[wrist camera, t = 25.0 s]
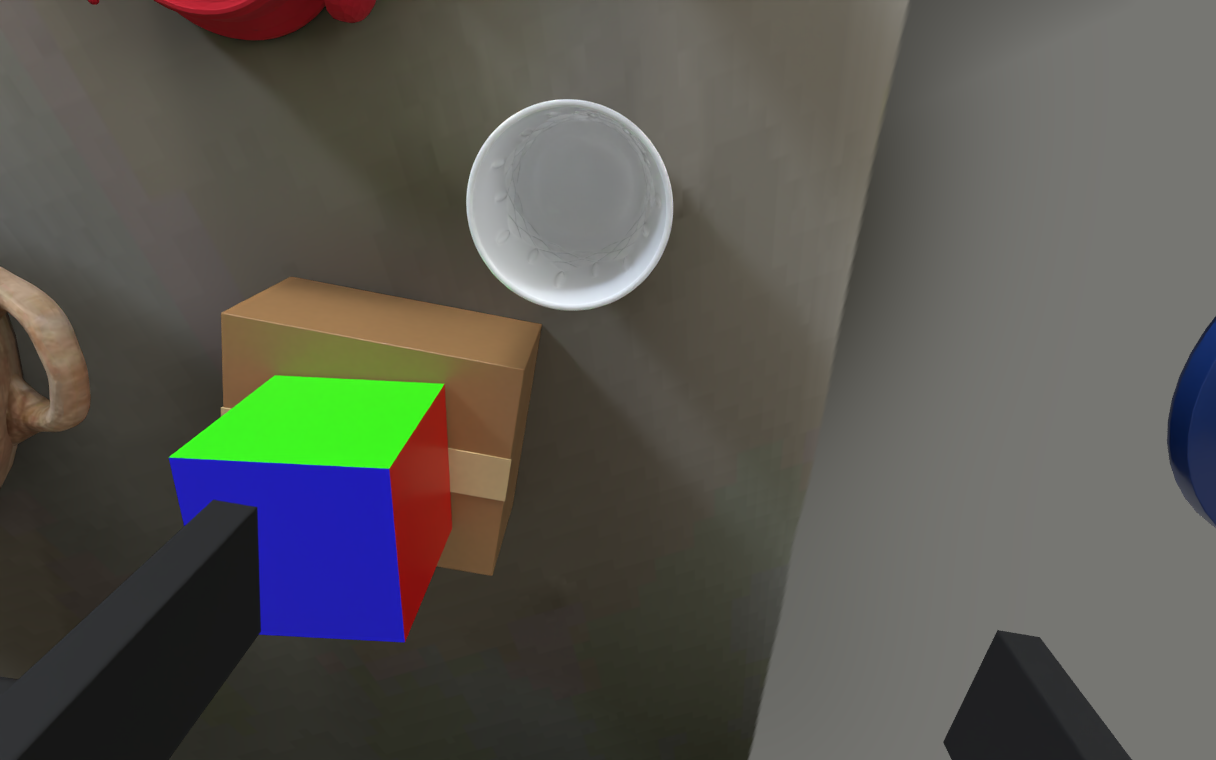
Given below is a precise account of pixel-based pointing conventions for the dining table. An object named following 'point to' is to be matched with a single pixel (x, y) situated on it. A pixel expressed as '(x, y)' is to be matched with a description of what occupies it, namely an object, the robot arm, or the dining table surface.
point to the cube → (332, 499)
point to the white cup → (569, 204)
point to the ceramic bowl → (10, 406)
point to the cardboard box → (406, 352)
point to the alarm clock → (263, 15)
